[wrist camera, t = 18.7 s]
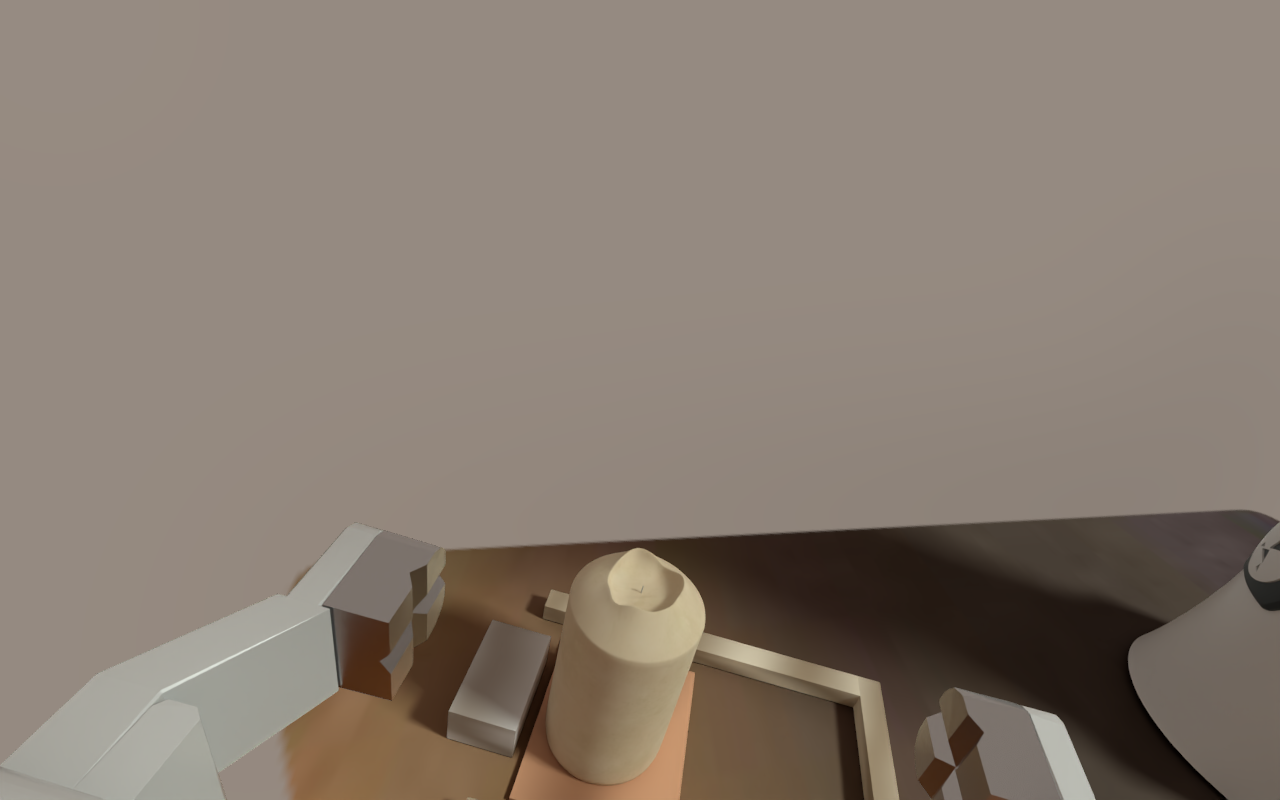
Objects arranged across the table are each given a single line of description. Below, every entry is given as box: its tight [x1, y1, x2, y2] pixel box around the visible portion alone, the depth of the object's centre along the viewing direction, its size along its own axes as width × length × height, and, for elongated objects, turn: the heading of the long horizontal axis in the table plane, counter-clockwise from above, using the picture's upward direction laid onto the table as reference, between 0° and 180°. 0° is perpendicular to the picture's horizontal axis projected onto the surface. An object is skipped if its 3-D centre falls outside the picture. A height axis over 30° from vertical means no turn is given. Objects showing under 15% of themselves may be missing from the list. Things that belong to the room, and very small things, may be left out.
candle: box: [545, 548, 705, 786], centre depth 27 cm, size 6×6×10 cm
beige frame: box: [447, 589, 899, 800], centre depth 29 cm, size 20×12×2 cm, turn 80°
